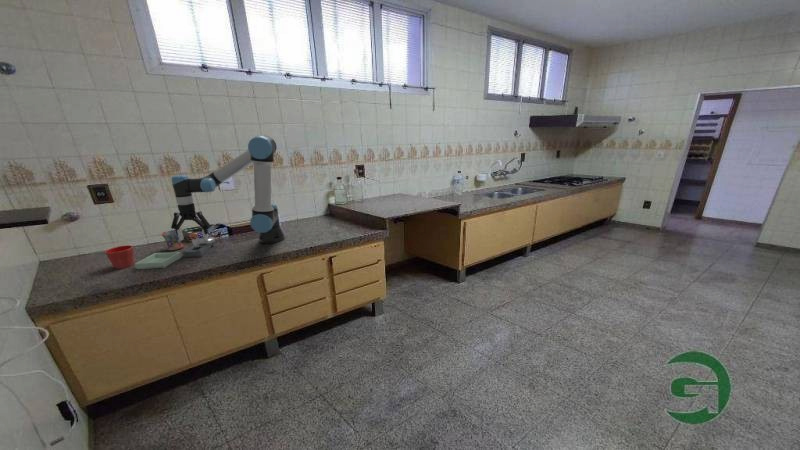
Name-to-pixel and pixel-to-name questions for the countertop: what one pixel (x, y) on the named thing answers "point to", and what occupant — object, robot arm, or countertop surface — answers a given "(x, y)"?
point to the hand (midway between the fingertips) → (193, 239)
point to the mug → (172, 240)
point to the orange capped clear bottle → (194, 240)
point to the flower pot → (121, 256)
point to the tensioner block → (203, 248)
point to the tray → (158, 260)
